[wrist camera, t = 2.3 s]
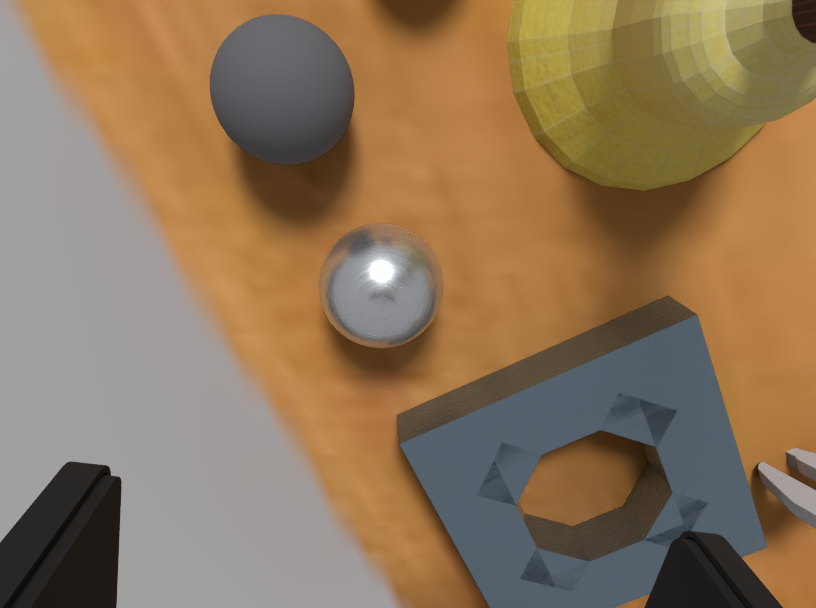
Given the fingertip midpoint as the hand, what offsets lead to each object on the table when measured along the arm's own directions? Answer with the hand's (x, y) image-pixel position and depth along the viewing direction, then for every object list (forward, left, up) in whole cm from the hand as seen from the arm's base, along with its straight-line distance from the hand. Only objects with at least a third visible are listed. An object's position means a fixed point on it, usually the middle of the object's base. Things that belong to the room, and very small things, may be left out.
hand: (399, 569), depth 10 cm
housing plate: (+8, +12, -17) cm, 22 cm away
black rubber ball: (-7, -5, -15) cm, 17 cm away
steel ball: (0, 0, -15) cm, 15 cm away
